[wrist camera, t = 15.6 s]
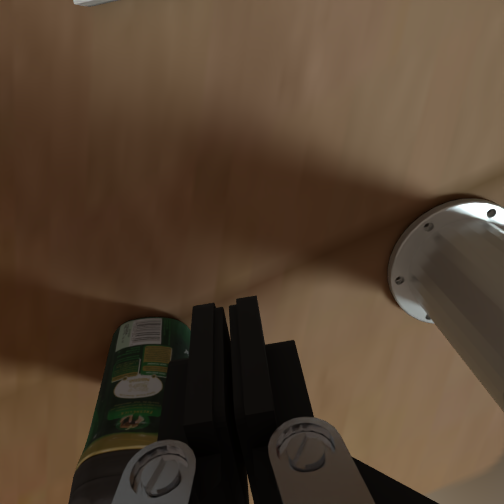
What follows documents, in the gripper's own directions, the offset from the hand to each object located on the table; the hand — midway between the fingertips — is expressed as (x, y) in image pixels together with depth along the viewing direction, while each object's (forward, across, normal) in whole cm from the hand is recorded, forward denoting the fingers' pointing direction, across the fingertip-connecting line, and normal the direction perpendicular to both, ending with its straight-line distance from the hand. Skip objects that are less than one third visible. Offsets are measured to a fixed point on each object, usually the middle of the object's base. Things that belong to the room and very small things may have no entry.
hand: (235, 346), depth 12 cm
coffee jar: (+26, +10, +19) cm, 34 cm away
